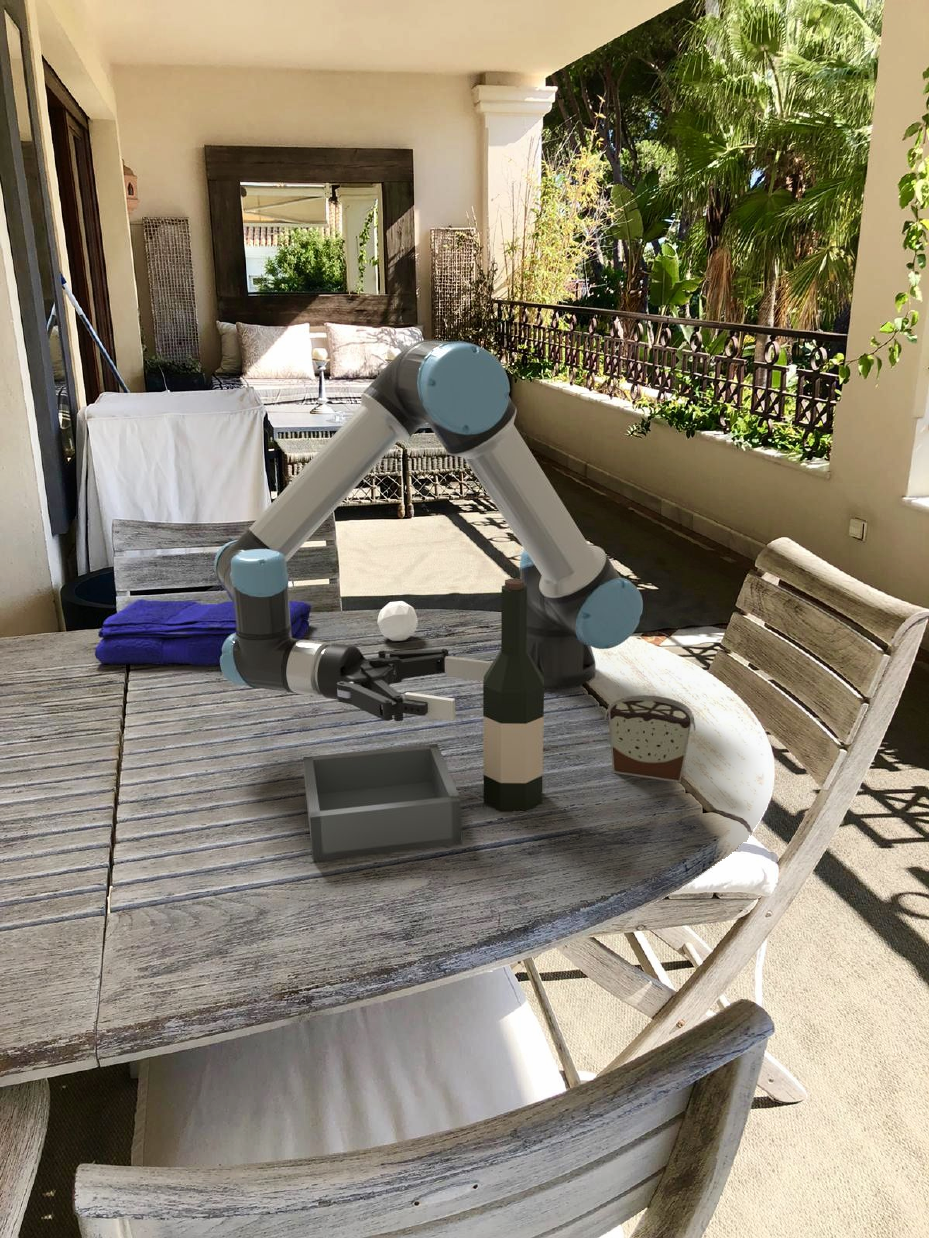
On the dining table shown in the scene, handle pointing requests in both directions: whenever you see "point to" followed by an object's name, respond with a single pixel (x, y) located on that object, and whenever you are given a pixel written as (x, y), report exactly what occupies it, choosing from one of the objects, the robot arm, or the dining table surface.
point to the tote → (380, 802)
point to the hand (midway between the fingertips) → (473, 689)
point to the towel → (177, 632)
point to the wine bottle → (513, 713)
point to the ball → (397, 621)
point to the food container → (649, 736)
